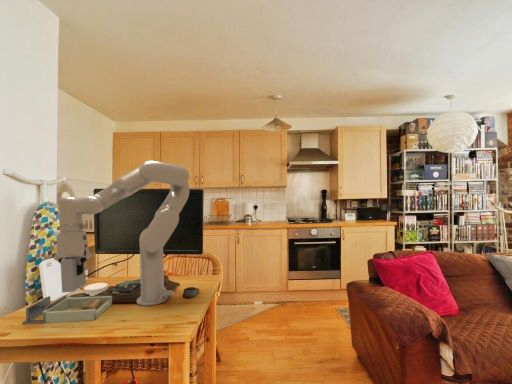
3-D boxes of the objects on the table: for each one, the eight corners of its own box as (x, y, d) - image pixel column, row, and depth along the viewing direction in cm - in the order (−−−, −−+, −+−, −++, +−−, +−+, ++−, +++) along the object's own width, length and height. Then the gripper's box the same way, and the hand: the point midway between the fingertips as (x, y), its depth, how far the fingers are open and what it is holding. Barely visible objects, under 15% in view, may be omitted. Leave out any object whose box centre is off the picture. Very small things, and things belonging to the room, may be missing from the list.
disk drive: (131, 296, 127) (144, 285, 142) (131, 290, 127) (144, 280, 142) (109, 296, 127) (124, 286, 142) (109, 290, 127) (124, 280, 142)
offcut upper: (100, 304, 113) (100, 298, 113) (93, 311, 106) (93, 306, 106) (89, 305, 112) (89, 299, 112) (81, 312, 105) (81, 306, 105)
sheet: (85, 283, 113) (84, 254, 113) (73, 291, 104) (71, 260, 104) (75, 284, 113) (74, 255, 113) (62, 292, 104) (60, 260, 104)
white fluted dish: (99, 288, 138) (99, 281, 138) (112, 291, 134) (112, 284, 134) (79, 295, 129) (79, 287, 129) (92, 298, 125) (92, 290, 125)
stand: (69, 306, 116) (69, 294, 116) (44, 323, 100) (44, 309, 100) (50, 307, 115) (50, 294, 115) (22, 324, 99) (22, 310, 100)
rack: (112, 304, 117) (112, 294, 117) (94, 320, 102) (94, 309, 102) (67, 306, 115) (67, 296, 115) (42, 322, 100) (42, 311, 100)
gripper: (98, 226, 113) (100, 270, 113) (55, 228, 112) (57, 273, 112) (88, 228, 106) (91, 276, 106) (42, 231, 104) (44, 279, 104)
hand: (73, 274), depth 109 cm, fingers closed on sheet, 4 cm apart
